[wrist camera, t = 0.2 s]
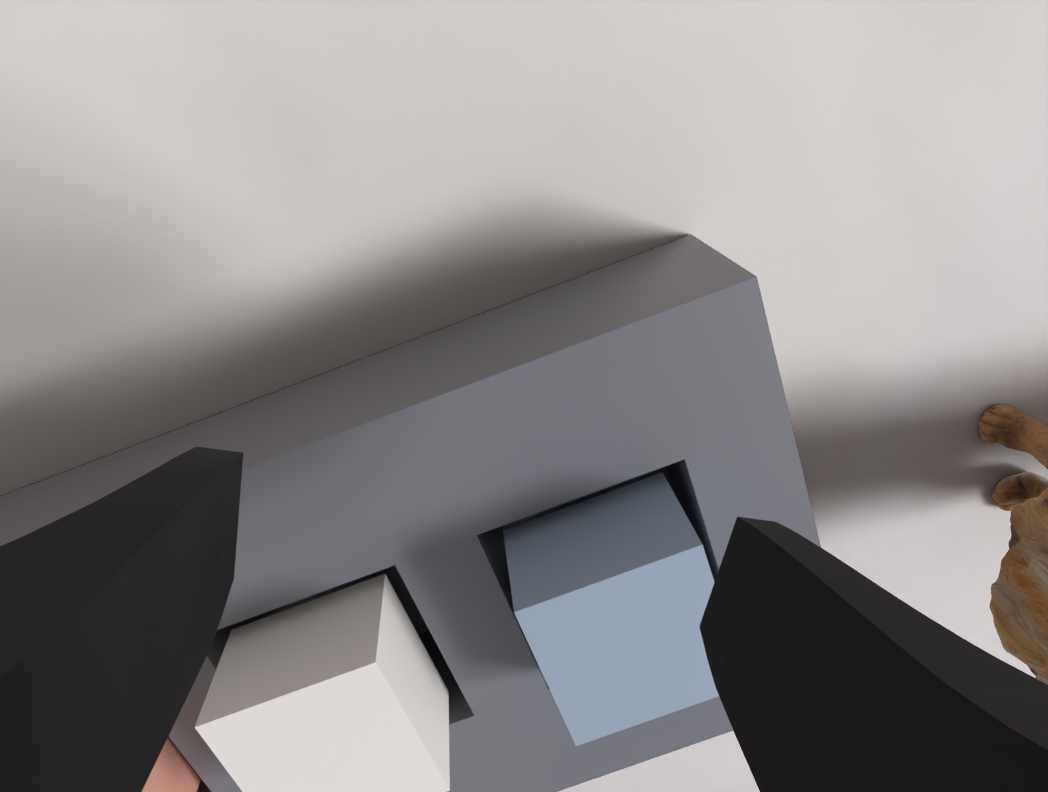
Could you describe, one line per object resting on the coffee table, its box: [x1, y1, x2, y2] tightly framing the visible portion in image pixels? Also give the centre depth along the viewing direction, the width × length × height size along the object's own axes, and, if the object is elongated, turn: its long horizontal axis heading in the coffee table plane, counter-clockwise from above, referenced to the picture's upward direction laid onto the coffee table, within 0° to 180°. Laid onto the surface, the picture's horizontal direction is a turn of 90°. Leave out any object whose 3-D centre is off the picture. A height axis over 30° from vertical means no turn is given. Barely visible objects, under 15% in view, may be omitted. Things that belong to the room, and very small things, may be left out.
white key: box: [195, 574, 450, 792], centre depth 18 cm, size 4×4×3 cm
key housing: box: [0, 234, 821, 792], centre depth 21 cm, size 12×24×4 cm, turn 110°
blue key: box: [503, 472, 719, 746], centre depth 17 cm, size 4×4×3 cm
